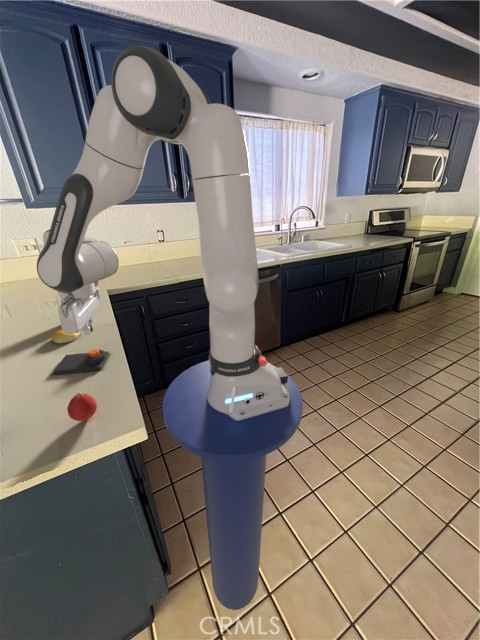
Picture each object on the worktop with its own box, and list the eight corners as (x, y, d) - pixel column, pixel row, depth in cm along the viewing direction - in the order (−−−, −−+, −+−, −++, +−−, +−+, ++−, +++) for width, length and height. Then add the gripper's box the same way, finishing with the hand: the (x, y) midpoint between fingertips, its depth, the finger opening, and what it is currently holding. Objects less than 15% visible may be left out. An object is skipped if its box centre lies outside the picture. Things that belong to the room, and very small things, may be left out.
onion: (69, 431, 60) (58, 404, 56) (76, 413, 65) (67, 387, 61) (97, 425, 61) (88, 399, 58) (102, 408, 66) (94, 382, 63)
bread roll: (48, 344, 95) (45, 334, 93) (63, 332, 103) (60, 323, 101) (72, 344, 95) (68, 334, 93) (84, 332, 103) (81, 323, 101)
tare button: (101, 352, 85) (99, 348, 84) (98, 357, 82) (97, 353, 82) (91, 353, 84) (90, 349, 84) (88, 358, 82) (87, 354, 81)
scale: (110, 354, 89) (108, 346, 88) (102, 369, 81) (100, 361, 80) (67, 357, 87) (64, 349, 86) (54, 374, 79) (51, 365, 78)
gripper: (73, 301, 64) (88, 349, 70) (99, 277, 83) (109, 318, 88) (45, 302, 63) (62, 351, 69) (78, 279, 82) (89, 319, 88)
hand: (89, 332), depth 79 cm, fingers closed
